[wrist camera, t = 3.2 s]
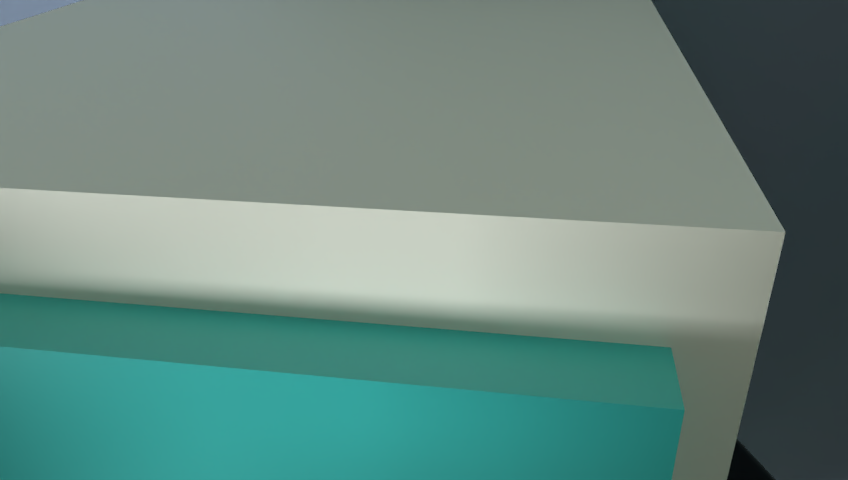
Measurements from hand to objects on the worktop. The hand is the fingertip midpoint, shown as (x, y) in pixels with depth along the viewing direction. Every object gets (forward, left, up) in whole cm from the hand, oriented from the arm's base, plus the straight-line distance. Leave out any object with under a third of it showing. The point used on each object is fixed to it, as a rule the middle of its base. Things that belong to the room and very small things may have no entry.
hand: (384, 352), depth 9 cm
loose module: (0, 0, -2) cm, 2 cm away
